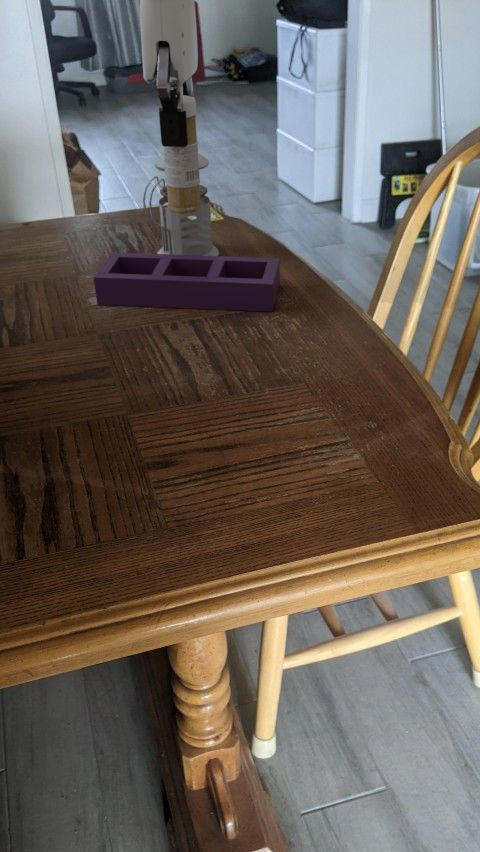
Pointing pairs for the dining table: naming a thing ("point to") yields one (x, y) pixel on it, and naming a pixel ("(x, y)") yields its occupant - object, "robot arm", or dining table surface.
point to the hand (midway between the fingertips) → (179, 139)
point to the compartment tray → (188, 281)
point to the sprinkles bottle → (184, 167)
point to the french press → (184, 221)
